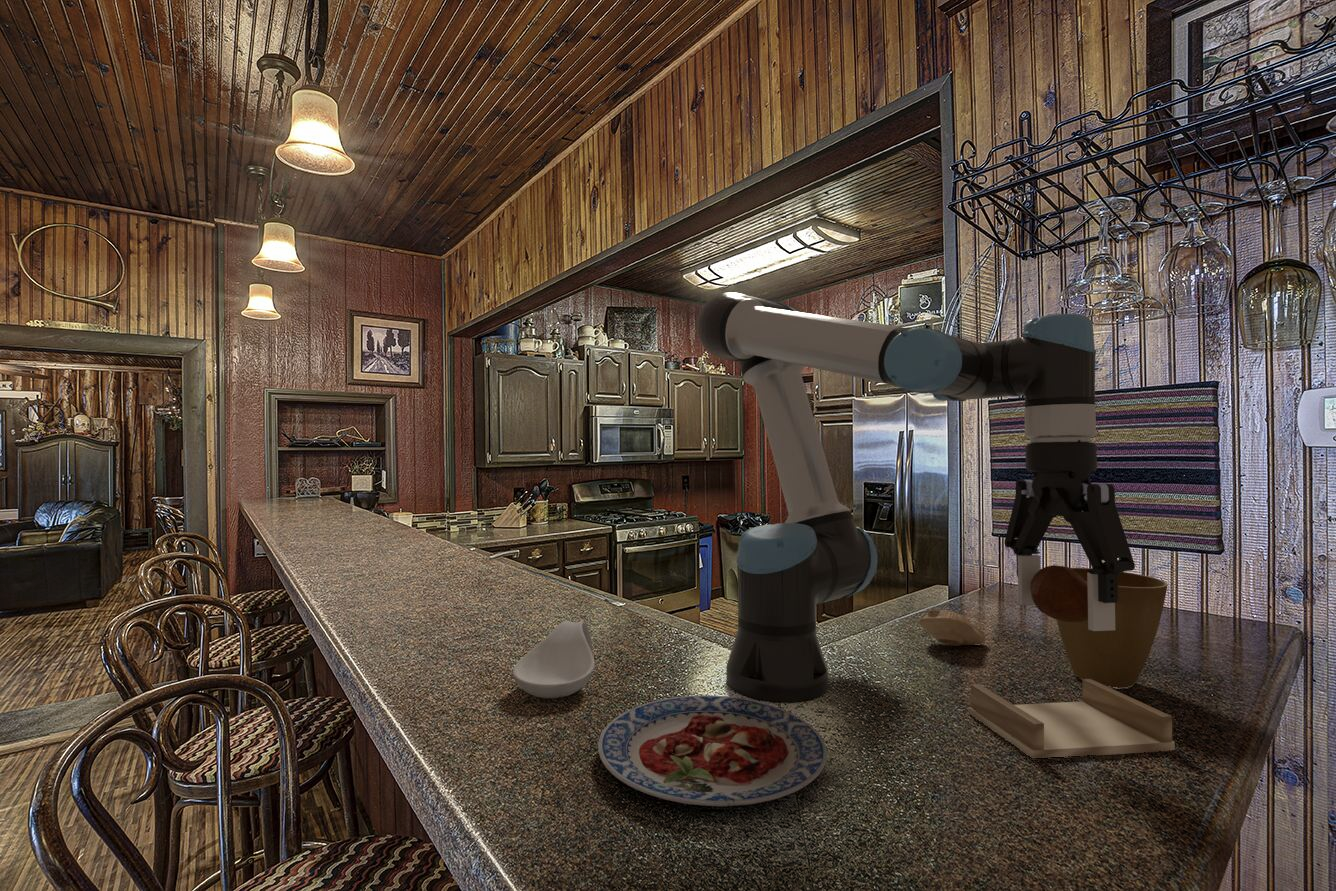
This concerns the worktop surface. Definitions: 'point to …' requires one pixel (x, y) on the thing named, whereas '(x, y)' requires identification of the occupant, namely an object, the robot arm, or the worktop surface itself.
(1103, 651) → the plant pot
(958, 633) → the pottery oil lamp
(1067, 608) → the potato
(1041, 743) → the tray
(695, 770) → the ceramic plate
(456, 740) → the worktop surface
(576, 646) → the spoon rest
